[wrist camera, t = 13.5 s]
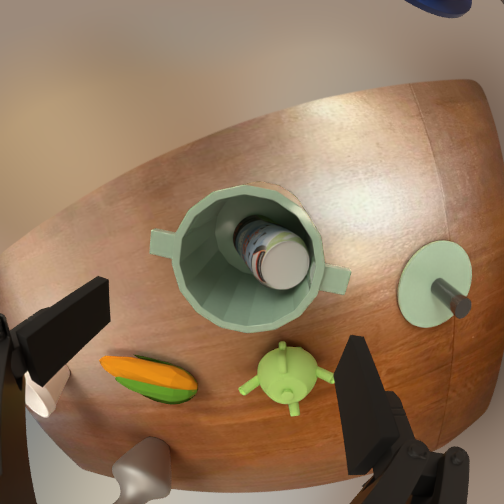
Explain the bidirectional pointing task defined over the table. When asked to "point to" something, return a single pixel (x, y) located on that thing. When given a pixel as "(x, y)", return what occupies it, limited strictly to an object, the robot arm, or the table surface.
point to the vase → (144, 472)
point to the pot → (232, 265)
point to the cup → (45, 392)
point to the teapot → (287, 376)
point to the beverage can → (271, 252)
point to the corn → (152, 378)
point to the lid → (435, 284)
